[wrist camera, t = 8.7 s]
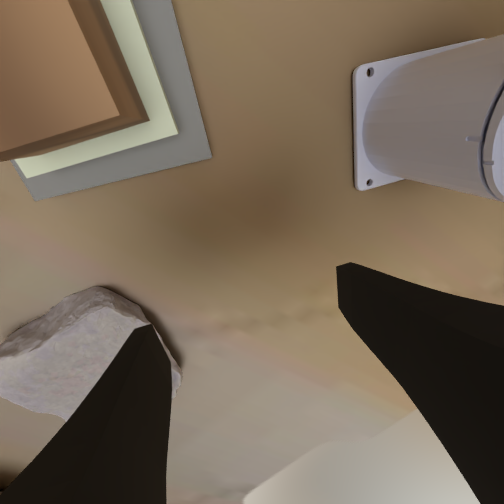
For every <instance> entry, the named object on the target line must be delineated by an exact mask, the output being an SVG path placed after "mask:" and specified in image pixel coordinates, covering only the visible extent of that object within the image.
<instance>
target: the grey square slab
mask: <svg viewBox="0 0 504 504" xmlns="http://www.w3.org/2000/svg"><path fill="white" fill-rule="evenodd" d="M132 1H133V4H134V7H135V10H136V13H137V15H138V18H139V21H140V24H141V27H142V29H143V32H144V35H145V38H146V41H147V43H148V46H149V49H150V52H151V55H152V57H153V60H154V63H155V66H156V69H157V71H158V74H159V77H160V80H161V83H162V85H163V88H164V91H165V94H166V97H167V99H168V102H169V105H170V108H171V111H172V113H173V116H174V119H175V122H176V125H177V127H178V130H179V134H176V135H172V136H169V137H165V138H162V139H159V140H155V141H152V142H149V143H145V144H142V145H138V146H135V147H132V148H128V149H125V150H122V151H118V152H115V153H111V154H108V155H105V156H101V157H98V158H94V159H91V160H88V161H84V162H81V163H78V164H74V165H71V166H67V167H64V168H61V169H57V170H54V171H51V172H47V173H44V174H40V175H37V176H34V177H30V178H26V176H25V175H24V173H23V172H22V170H21V169H20V167H19V166H18V164H17V163H16V161H15V160H10V161H11V162H12V164H13V166H14V167H15V169H16V171H17V172H18V174H19V176H20V177H21V179H22V181H23V182H24V184H25V186H26V187H27V189H28V191H29V192H30V194H31V195H32V197H33V199H34V200H35V201H38V200H42V199H46V198H50V197H54V196H58V195H63V194H67V193H71V192H75V191H79V190H83V189H87V188H91V187H95V186H99V185H103V184H107V183H111V182H116V181H120V180H124V179H128V178H132V177H136V176H140V175H144V174H148V173H152V172H156V171H160V170H164V169H168V168H173V167H177V166H181V165H185V164H189V163H193V162H197V161H201V160H205V159H209V158H212V155H211V151H210V147H209V143H208V140H207V136H206V132H205V128H204V124H203V120H202V117H201V113H200V109H199V105H198V101H197V98H196V94H195V90H194V86H193V82H192V78H191V75H190V71H189V67H188V63H187V59H186V56H185V52H184V48H183V44H182V40H181V36H180V33H179V29H178V25H177V21H176V17H175V14H174V10H173V6H172V2H171V0H132Z"/></svg>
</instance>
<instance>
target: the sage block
mask: <svg viewBox="0 0 504 504" xmlns="http://www.w3.org/2000/svg"><path fill="white" fill-rule="evenodd" d="M100 1H101V3H102V6H103V8H104V11H105V13H106V15H107V18H108V20H109V23H110V25H111V28H112V30H113V32H114V35H115V37H116V40H117V42H118V44H119V47H120V49H121V52H122V54H123V57H124V59H125V61H126V64H127V66H128V69H129V71H130V73H131V76H132V78H133V81H134V83H135V86H136V88H137V90H138V93H139V95H140V98H141V100H142V102H143V105H144V107H145V110H146V112H147V115H148V117H149V119H150V121H148V122H145V123H141V124H138V125H135V126H132V127H129V128H125V129H122V130H119V131H116V132H113V133H109V134H106V135H103V136H100V137H97V138H93V139H90V140H87V141H84V142H81V143H78V144H74V145H71V146H68V147H65V148H62V149H58V150H55V151H52V152H49V153H46V154H42V155H39V156H32V157H26V158H20V159H14V160H15V161H16V163H17V164H18V166H19V167H20V169H21V170H22V172H23V173H24V175H25V176H26V178H30V177H34V176H37V175H40V174H44V173H47V172H51V171H54V170H57V169H61V168H64V167H67V166H71V165H74V164H78V163H81V162H84V161H88V160H91V159H94V158H98V157H101V156H105V155H108V154H111V153H115V152H118V151H122V150H125V149H128V148H132V147H135V146H138V145H142V144H145V143H149V142H152V141H155V140H159V139H162V138H165V137H169V136H172V135H176V134H179V130H178V127H177V125H176V122H175V119H174V116H173V113H172V111H171V108H170V105H169V102H168V99H167V97H166V94H165V91H164V88H163V85H162V83H161V80H160V77H159V74H158V71H157V69H156V66H155V63H154V60H153V57H152V55H151V52H150V49H149V46H148V43H147V41H146V38H145V35H144V32H143V29H142V27H141V24H140V21H139V18H138V15H137V13H136V10H135V7H134V4H133V1H132V0H100Z"/></svg>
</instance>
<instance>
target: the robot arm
mask: <svg viewBox="0 0 504 504" xmlns="http://www.w3.org/2000/svg"><path fill="white" fill-rule="evenodd" d="M368 69H369V70H370V76H369V77H368V76H367V70H368ZM353 120H354V170H355V188H356V189H358V190H360V191H364V190H367V189H371V188H375V187H378V186H382V185H386V184H389V183H393V182H396V181H400V180H404V179H408V180H412V181H417V182H421V183H425V184H429V185H434V186H438V187H442V188H446V189H450V190H455V191H459V192H463V193H467V194H471V195H476V196H480V197H484V198H488V199H493V200H497V201H501V202H504V34H502V35H498V36H495V37H492V38H488V39H485V38H480V39H475V40H471V41H466V42H462V43H457V44H453V45H448V46H444V47H439V48H435V49H430V50H426V51H421V52H417V53H412V54H408V55H403V56H399V57H394V58H390V59H385V60H381V61H376V62H372V63H367V64H363V65H360V66H358V67H356V68H355V70H354V72H353ZM368 180H370V181H369V184H368V185H367V184H366V183H367V181H368ZM336 271H337V289H338V306H339V309H340V310H341V312H342V314H343V315H344V317H345V318H346V320H347V321H348V323H349V324H350V326H351V327H352V329H353V330H354V331H355V332H356V333H357V335H358V336H359V337H360V338H361V339H362V340H363V342H364V343H365V344H366V345H367V346H368V347H369V349H370V350H371V351H372V352H373V353H374V354H375V355H376V357H377V358H378V359H379V360H380V361H381V362H382V363H383V365H384V366H385V367H386V368H387V369H388V370H389V372H390V373H391V374H392V375H393V376H394V377H395V379H396V380H397V381H398V382H399V384H400V385H401V386H402V387H403V389H404V390H405V391H406V393H407V394H408V396H409V397H410V398H411V400H412V401H413V403H414V404H415V405H416V407H417V408H418V409H419V411H420V412H421V414H422V415H423V416H424V418H425V420H426V421H427V422H428V424H429V425H430V427H431V428H432V430H433V431H434V433H435V434H436V436H437V437H438V438H439V440H440V441H441V443H442V444H443V446H444V447H445V449H446V450H447V452H448V453H449V455H450V457H451V458H452V460H453V461H454V463H455V464H456V466H457V467H458V469H459V470H460V472H461V473H462V474H463V476H464V478H465V480H466V481H467V483H468V484H469V486H470V488H471V489H472V491H473V492H474V494H475V496H476V497H477V499H478V500H479V502H480V504H504V306H502V305H497V304H492V303H487V302H482V301H478V300H473V299H469V298H465V297H460V296H456V295H452V294H448V293H445V292H441V291H438V290H434V289H431V288H427V287H424V286H421V285H417V284H414V283H411V282H408V281H405V280H402V279H399V278H396V277H393V276H390V275H387V274H385V273H382V272H379V271H376V270H373V269H370V268H367V267H365V266H362V265H358V264H355V263H352V262H350V263H346V264H343V265H340V266H337V267H336ZM171 401H172V372H171V361H170V359H169V357H168V355H167V353H166V351H165V349H164V347H163V345H162V343H161V341H160V339H159V337H158V335H157V333H156V331H155V329H154V327H153V325H152V323H151V324H148V325H145V326H141V327H138V328H135V329H134V330H133V331H132V333H131V334H130V336H129V337H128V338H127V340H126V341H125V343H124V344H123V346H122V347H121V349H120V350H119V352H118V353H117V354H116V356H115V357H114V359H113V360H112V362H111V363H110V365H109V366H108V367H107V369H106V370H105V372H104V373H103V374H102V376H101V377H100V379H99V380H98V381H97V383H96V384H95V385H94V387H93V388H92V389H91V391H90V392H89V393H88V395H87V396H86V397H85V399H84V400H83V401H82V402H81V404H80V405H79V406H78V408H77V409H76V410H75V412H74V413H73V414H72V415H71V417H70V418H69V419H68V420H67V422H66V423H65V424H64V425H63V426H62V428H61V429H60V430H59V431H58V432H57V434H56V435H55V436H54V437H53V438H52V439H51V440H50V442H49V443H48V444H47V445H46V446H45V447H44V448H43V450H42V451H41V452H40V453H39V454H38V455H37V456H36V457H35V459H34V460H33V461H32V462H31V463H30V464H29V465H28V466H27V467H26V468H25V469H24V470H23V471H22V472H21V473H20V474H19V475H18V477H17V478H16V479H15V480H14V481H13V482H12V483H11V484H10V485H9V486H8V487H7V488H6V489H5V490H4V491H3V492H2V493H1V494H0V504H166V468H167V452H168V439H169V427H170V414H171Z"/></svg>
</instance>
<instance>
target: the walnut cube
mask: <svg viewBox="0 0 504 504" xmlns="http://www.w3.org/2000/svg"><path fill="white" fill-rule="evenodd" d="M148 121H150V119H149V117H148V115H147V112H146V110H145V107H144V105H143V102H142V100H141V98H140V95H139V93H138V90H137V88H136V86H135V83H134V81H133V78H132V76H131V73H130V71H129V69H128V66H127V64H126V61H125V59H124V57H123V54H122V52H121V49H120V47H119V44H118V42H117V40H116V37H115V35H114V32H113V30H112V28H111V25H110V23H109V20H108V18H107V15H106V13H105V11H104V8H103V6H102V3H101V1H100V0H0V162H1V161H7V160H14V159H20V158H26V157H32V156H39V155H42V154H46V153H49V152H52V151H55V150H58V149H62V148H65V147H68V146H71V145H74V144H78V143H81V142H84V141H87V140H90V139H93V138H97V137H100V136H103V135H106V134H109V133H113V132H116V131H119V130H122V129H125V128H129V127H132V126H135V125H138V124H141V123H145V122H148Z"/></svg>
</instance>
